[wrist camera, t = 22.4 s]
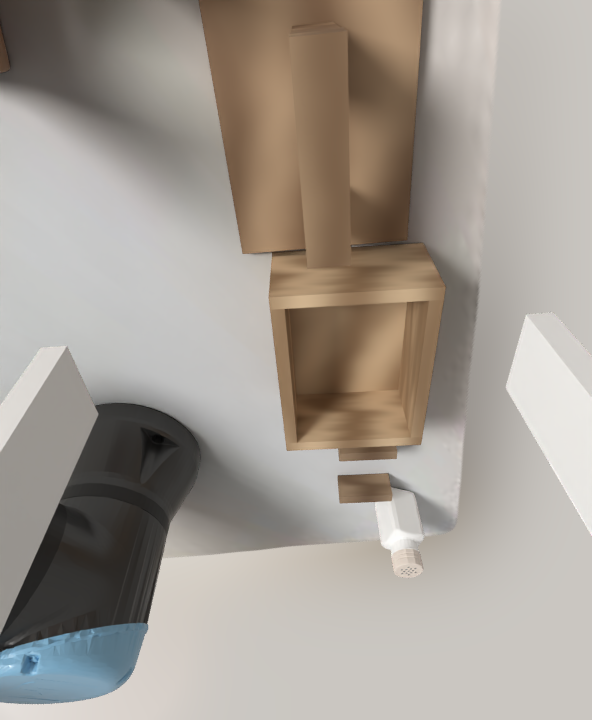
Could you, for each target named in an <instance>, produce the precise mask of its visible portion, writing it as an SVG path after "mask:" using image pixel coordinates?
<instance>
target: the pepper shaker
mask: <svg viewBox="0 0 592 720" xmlns="http://www.w3.org/2000/svg"><path fill="white" fill-rule="evenodd" d="M391 490H392V501H385V502H376V503H375V509H376V515H377V521H378V527H379V534H380V540H381V545H382V546H383V547H384V548H386V549H389V550H391V553H392V554H391V557H392V564H393V569H394V573H395V574H396V575H397V576H399V577H402V578H410V577H415V576H417V575H419V574H421V573H422V571H423V564H422V560H421V556H420V552H419V551H418V546H419V544H420V543H421V542H422V540H423V539H424V531H423V527H422V523H421V518H420V514H419V510H418V506H417V502H416V498H415V495H414V493H413V492H410V491H406V490H402V489H397V488H393V487H391Z"/></svg>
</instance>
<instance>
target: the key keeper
mask: <svg viewBox="0 0 592 720" xmlns="http://www.w3.org/2000/svg"><path fill="white" fill-rule="evenodd" d="M338 452H339V461H358V460H380V459H397V448H396V446H380V447H358V448H338ZM338 489H339V500H340V503H361V502H385V501H392V490H391V485H390V480H389V475H388V474H365V475H342V476H338Z"/></svg>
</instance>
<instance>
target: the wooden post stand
mask: <svg viewBox="0 0 592 720" xmlns="http://www.w3.org/2000/svg"><path fill="white" fill-rule="evenodd" d="M199 5H200V11H201V17H202V23H203V28H204V34H205V40H206V46H207V51H208V57H209V63H210V69H211V74H212V80H213V86H214V92H215V97H216V103H217V109H218V115H219V120H220V126H221V132H222V138H223V143H224V149H225V155H226V161H227V166H228V172H229V178H230V184H231V189H232V195H233V201H234V207H235V212H236V218H237V224H238V230H239V235H240V241H241V247H242V253H243V254H249V253H261V252H273V251H284V250H296V249H306V257H307V269H316V268H329V267H341V266H351V245H356V244H368V243H380V242H392V241H404V240H407V237H408V222H409V207H410V191H411V176H412V161H413V146H414V131H415V115H416V100H417V85H418V70H419V55H420V39H421V24H422V9H423V0H199Z"/></svg>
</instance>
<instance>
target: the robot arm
mask: <svg viewBox="0 0 592 720" xmlns="http://www.w3.org/2000/svg"><path fill="white" fill-rule="evenodd" d="M506 389H507V391H508V393H509V395H510V396H511V398H512V399H513V401H514V403H515V405H516V407H517V408H518V410H519V412H520V414H521V415H522V417H523V419H524V420H525V422H526V424H527V426H528V427H529V429H530V431H531V432H532V434H533V436H534V438H535V439H536V441H537V443H538V445H539V446H540V448H541V450H542V451H543V453H544V455H545V456H546V458H547V460H548V461H549V463H550V465H551V467H552V469H553V470H554V472H555V474H556V475H557V477H558V479H559V481H560V482H561V484H562V486H563V488H564V489H565V491H566V492H567V494H568V496H569V498H570V500H571V501H572V503H573V505H574V506H575V508H576V510H577V511H578V513H579V515H580V517H581V518H582V520H583V522H584V524H585V525H586V527H587V529H588V530H589V532H590V534H591V536H592V356H591V354H590V353H589V352H588V351H587V350H586V349H585V348H584V346H583V345H582V344H581V343H580V342H579V341H578V340H577V338H576V337H575V336H574V335H573V334H572V333H571V332H570V331H569V329H568V328H567V327H566V326H565V325H564V324H563V323H562V321H561V320H560V319H559V318H558V317H557V316H556V315H555V313H539V314H527V315H526V317H525V321H524V324H523V328H522V331H521V335H520V338H519V342H518V345H517V349H516V352H515V356H514V359H513V363H512V367H511V370H510V374H509V378H508V381H507V384H506ZM199 465H200V450H199V447H198V444H197V442H196V440H195V439H194V437H193V436H192V435H191V433H190V432H189V431H188V430H187V429H186V428H185V427H184V426H182V425H181V424H180V423H179V422H177V421H176V420H174V419H172V418H171V417H169V416H167V415H165V414H163V413H161V412H158V411H156V410H153V409H150V408H146V407H143V406H138V405H132V404H122V403H112V404H102V405H97V406H94V403H93V401H92V399H91V397H90V395H89V392H88V390H87V388H86V386H85V384H84V382H83V379H82V377H81V375H80V373H79V371H78V369H77V366H76V364H75V362H74V360H73V358H72V355H71V353H70V351H69V349H68V347H67V346H57V347H42V348H40V350H39V351H38V352H37V354H36V355H35V357H34V358H33V360H32V361H31V362H30V364H29V365H28V367H27V368H26V370H25V371H24V372H23V374H22V375H21V377H20V378H19V380H18V381H17V382H16V384H15V385H14V387H13V388H12V390H11V391H10V392H9V394H8V395H7V397H6V398H5V400H4V401H3V402H2V404H1V405H0V702H4V703H18V704H50V703H51V704H52V703H64V702H74V701H80V700H86V699H91V698H95V697H99V696H102V695H105V694H108V693H110V692H112V691H114V690H116V689H117V688H119V687H120V686H122V685H123V684H124V683H125V682H126V681H127V680H128V679H129V677H130V676H131V674H132V672H133V670H134V668H135V665H136V662H137V659H138V655H139V652H140V649H141V646H142V642H143V639H144V636H145V634H146V632H147V630H148V624H147V622H148V618H149V613H150V609H151V605H152V600H153V596H154V591H155V587H156V582H157V578H158V574H159V569H160V565H161V560H162V556H163V552H164V547H165V543H166V537H167V533H168V529H169V525H170V522H171V520H172V519H173V517H174V516H175V514H176V513H177V511H178V509H179V508H180V506H181V505H182V503H183V501H184V500H185V498H186V497H187V495H188V493H189V492H190V490H191V489H192V487H193V485H194V483H195V481H196V478H197V475H198V470H199Z"/></svg>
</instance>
